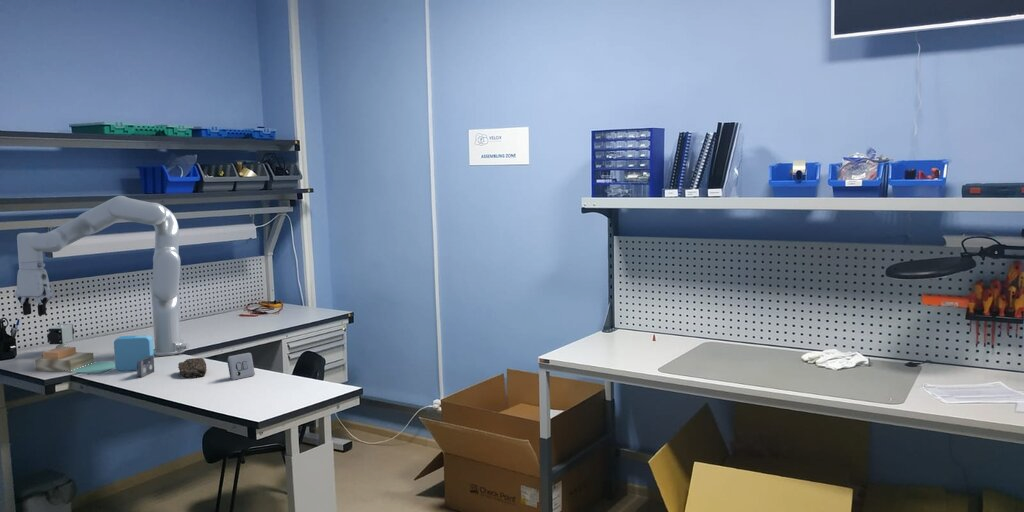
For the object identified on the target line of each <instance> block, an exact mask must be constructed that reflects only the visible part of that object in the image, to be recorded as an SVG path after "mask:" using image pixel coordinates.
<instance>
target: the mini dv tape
mask: <svg viewBox="0 0 1024 512" xmlns="http://www.w3.org/2000/svg"><path fill="white" fill-rule="evenodd" d="M153 373H155V356H154V357H153V356H148V357H146V358H144V359H142V360H140V361H137V370H136V377H137V379H142V378H145V377H147V376H149V375H150V374H153Z"/></svg>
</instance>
